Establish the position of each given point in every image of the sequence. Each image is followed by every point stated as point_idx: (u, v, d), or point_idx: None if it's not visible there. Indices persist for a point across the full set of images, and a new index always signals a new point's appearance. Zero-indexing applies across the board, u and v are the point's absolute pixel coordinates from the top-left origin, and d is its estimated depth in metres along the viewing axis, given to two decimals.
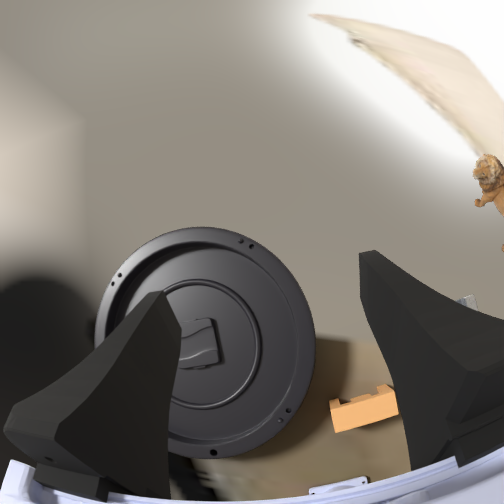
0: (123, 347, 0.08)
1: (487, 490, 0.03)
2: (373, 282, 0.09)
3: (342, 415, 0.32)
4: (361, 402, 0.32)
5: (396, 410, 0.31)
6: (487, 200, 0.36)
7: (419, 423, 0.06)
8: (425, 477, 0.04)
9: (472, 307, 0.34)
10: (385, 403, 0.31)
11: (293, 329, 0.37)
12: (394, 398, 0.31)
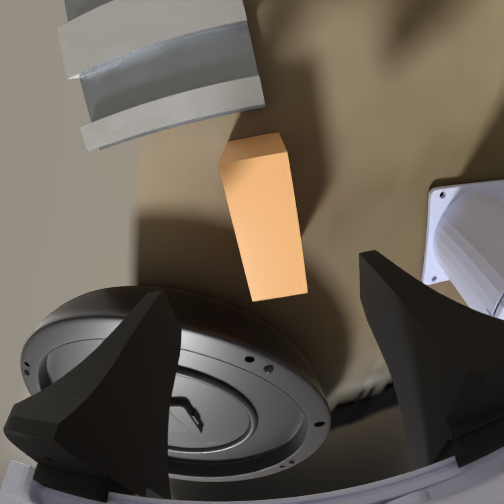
0: (123, 347, 0.08)
1: (487, 490, 0.03)
2: (373, 282, 0.09)
3: (268, 280, 0.17)
4: (240, 243, 0.16)
5: (275, 157, 0.13)
6: None
7: (419, 424, 0.06)
8: (425, 477, 0.04)
9: None
10: (250, 187, 0.14)
11: None
12: (239, 163, 0.14)
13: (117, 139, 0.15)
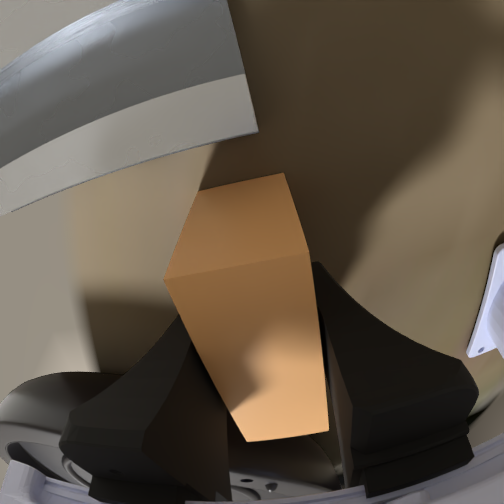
0: (190, 340, 0.08)
1: (487, 490, 0.03)
2: None
3: (270, 424, 0.10)
4: (222, 389, 0.09)
5: (283, 264, 0.06)
6: None
7: (342, 444, 0.07)
8: None
9: None
10: (232, 317, 0.07)
11: None
12: (206, 277, 0.06)
13: (18, 205, 0.08)
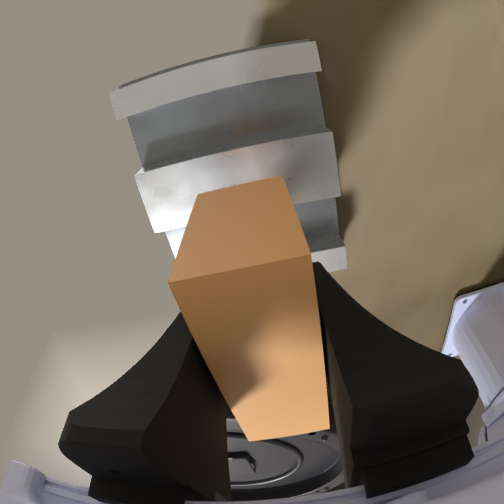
0: (190, 340, 0.08)
1: (487, 490, 0.03)
2: None
3: (272, 423, 0.10)
4: (225, 389, 0.09)
5: (285, 266, 0.06)
6: None
7: (342, 444, 0.07)
8: None
9: (141, 96, 0.13)
10: (235, 318, 0.07)
11: None
12: (210, 280, 0.07)
13: None
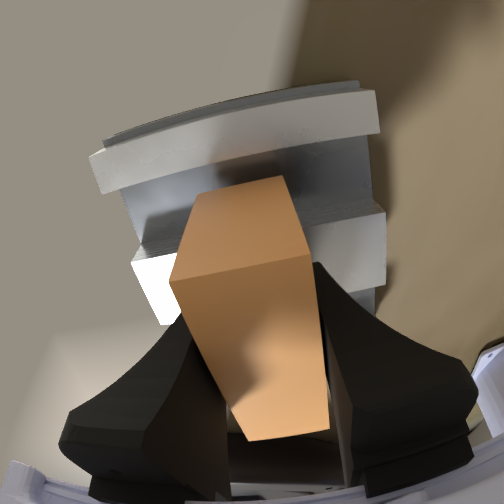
0: (190, 340, 0.08)
1: (487, 490, 0.03)
2: None
3: (271, 423, 0.10)
4: (225, 389, 0.09)
5: (285, 266, 0.06)
6: None
7: (343, 444, 0.07)
8: None
9: (132, 163, 0.10)
10: (235, 318, 0.07)
11: None
12: (210, 279, 0.07)
13: None
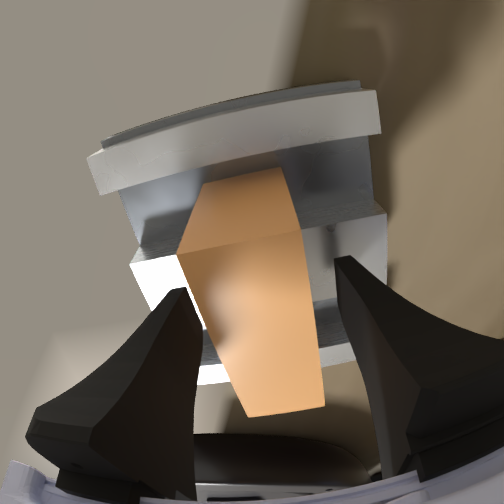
0: (151, 344, 0.08)
1: (487, 490, 0.03)
2: (345, 288, 0.09)
3: (269, 398, 0.11)
4: (226, 361, 0.10)
5: (278, 240, 0.07)
6: None
7: (386, 434, 0.07)
8: None
9: (130, 164, 0.10)
10: (235, 289, 0.08)
11: None
12: (213, 252, 0.08)
13: None
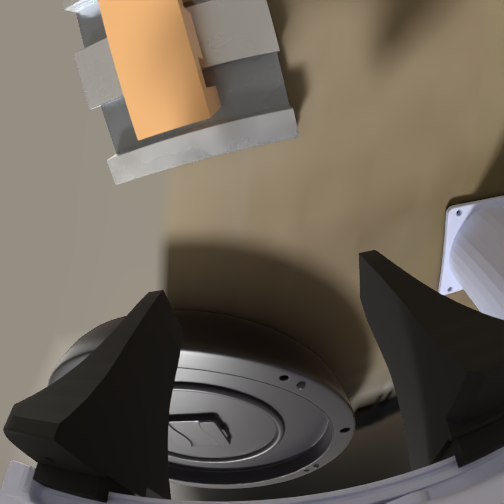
0: (123, 347, 0.08)
1: (487, 490, 0.03)
2: (373, 282, 0.09)
3: (153, 103, 0.11)
4: (116, 56, 0.10)
5: None
6: None
7: (419, 424, 0.06)
8: (425, 477, 0.04)
9: None
10: None
11: None
12: None
13: (148, 173, 0.16)
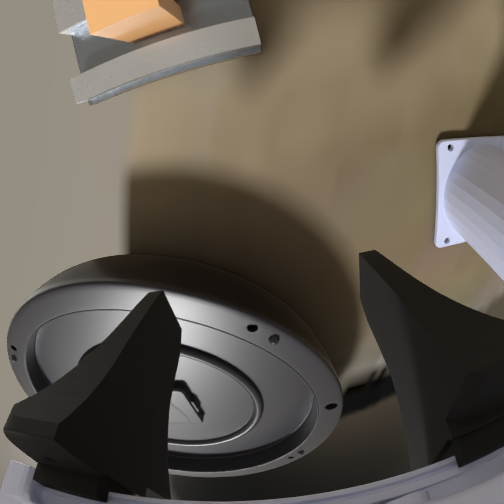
0: (123, 347, 0.08)
1: (487, 490, 0.03)
2: (373, 282, 0.09)
3: None
4: None
5: None
6: None
7: (419, 424, 0.06)
8: (425, 477, 0.04)
9: None
10: None
11: None
12: None
13: (107, 88, 0.14)
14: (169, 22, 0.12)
